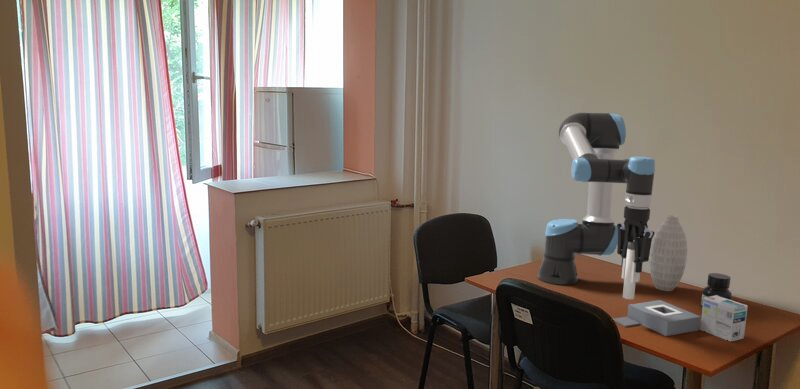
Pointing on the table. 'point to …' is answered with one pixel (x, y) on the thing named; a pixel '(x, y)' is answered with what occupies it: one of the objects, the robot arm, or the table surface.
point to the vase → (668, 254)
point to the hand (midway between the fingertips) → (630, 279)
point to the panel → (664, 317)
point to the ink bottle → (717, 286)
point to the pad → (626, 321)
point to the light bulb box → (723, 318)
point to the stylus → (629, 272)
